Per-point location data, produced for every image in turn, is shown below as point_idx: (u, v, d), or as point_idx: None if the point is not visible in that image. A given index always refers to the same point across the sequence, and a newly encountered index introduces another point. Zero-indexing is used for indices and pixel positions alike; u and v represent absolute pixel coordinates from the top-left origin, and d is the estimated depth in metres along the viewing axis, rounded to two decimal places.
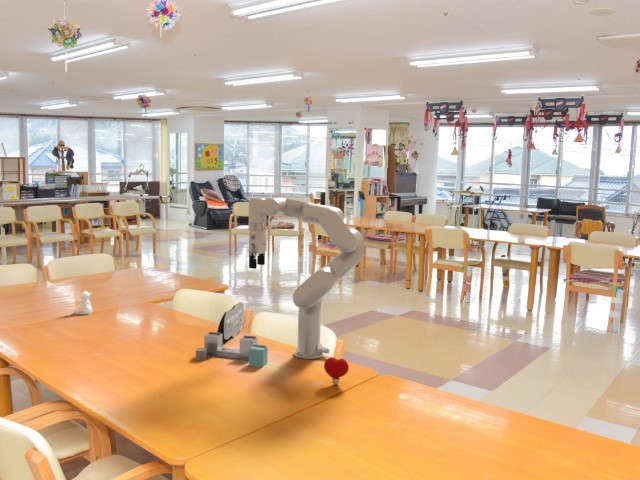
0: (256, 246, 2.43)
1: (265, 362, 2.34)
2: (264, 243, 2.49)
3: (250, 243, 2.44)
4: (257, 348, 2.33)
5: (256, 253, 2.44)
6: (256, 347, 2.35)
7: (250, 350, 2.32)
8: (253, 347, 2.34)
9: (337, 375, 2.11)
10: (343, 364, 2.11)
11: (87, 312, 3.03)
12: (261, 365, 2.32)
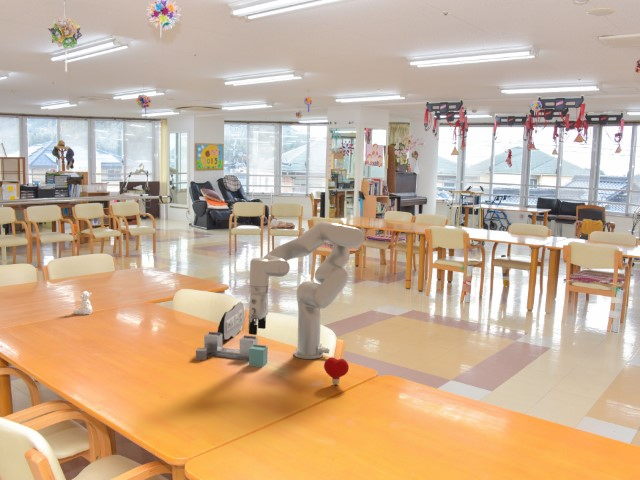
0: (257, 311, 2.27)
1: (265, 362, 2.34)
2: (265, 307, 2.32)
3: (251, 308, 2.27)
4: (257, 348, 2.33)
5: (257, 318, 2.28)
6: (256, 347, 2.35)
7: (250, 350, 2.32)
8: (253, 347, 2.34)
9: (337, 375, 2.11)
10: (343, 364, 2.11)
11: (87, 312, 3.03)
12: (261, 365, 2.32)
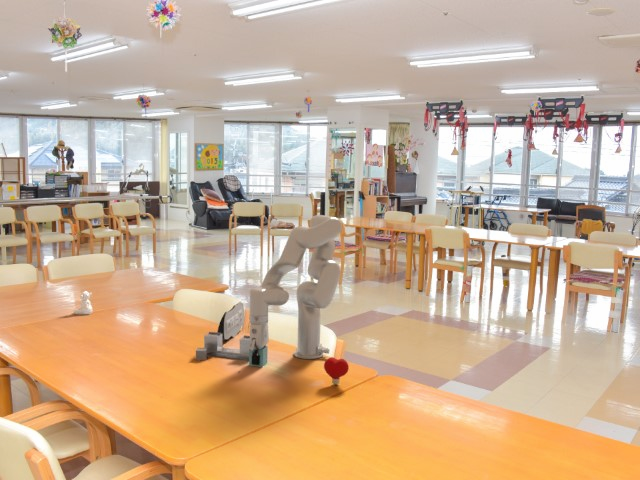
0: (257, 341, 2.28)
1: (265, 362, 2.34)
2: (266, 335, 2.34)
3: (251, 337, 2.29)
4: None
5: (258, 348, 2.31)
6: None
7: None
8: None
9: (337, 375, 2.11)
10: (343, 364, 2.11)
11: (87, 312, 3.03)
12: (261, 365, 2.32)
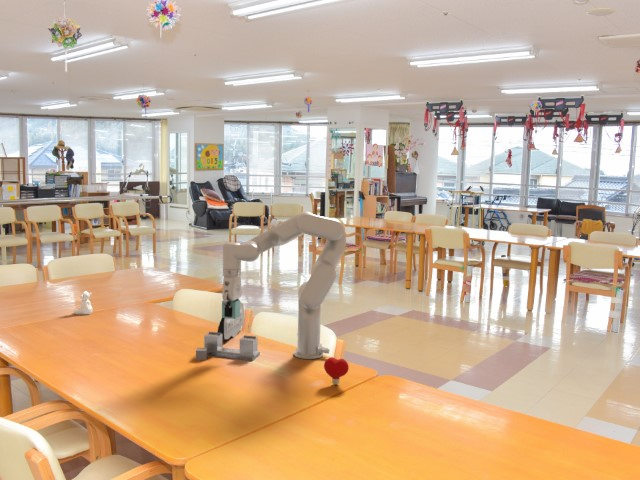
0: (230, 293, 2.37)
1: (237, 315, 2.43)
2: (238, 289, 2.42)
3: (224, 290, 2.37)
4: None
5: (231, 301, 2.39)
6: None
7: None
8: None
9: (337, 375, 2.11)
10: (343, 364, 2.11)
11: (87, 312, 3.03)
12: (233, 317, 2.40)
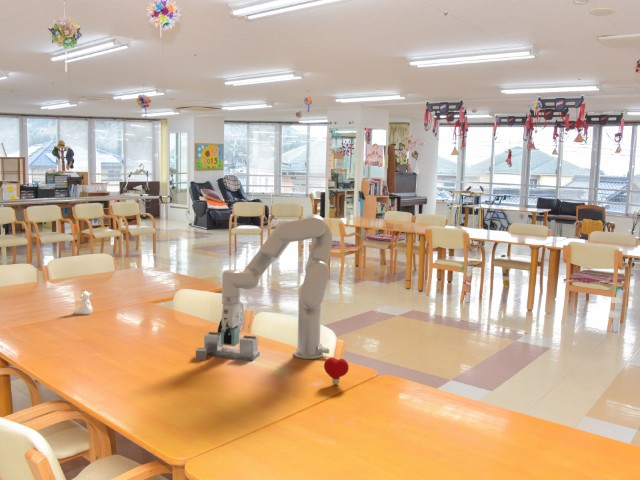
0: (229, 321, 2.38)
1: (236, 341, 2.44)
2: (238, 316, 2.44)
3: (223, 317, 2.39)
4: None
5: (230, 328, 2.41)
6: None
7: (222, 330, 2.42)
8: None
9: (337, 375, 2.11)
10: (343, 364, 2.11)
11: (87, 312, 3.04)
12: (232, 344, 2.42)
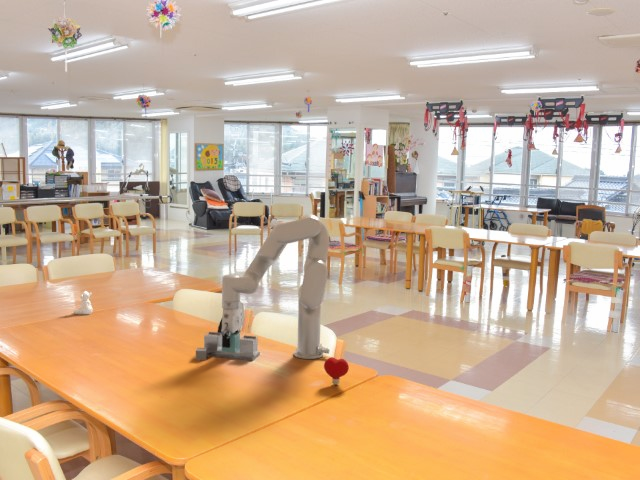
0: (229, 325, 2.38)
1: (237, 348, 2.45)
2: (238, 320, 2.44)
3: (223, 322, 2.39)
4: None
5: (229, 332, 2.40)
6: None
7: None
8: None
9: (337, 375, 2.11)
10: (343, 364, 2.11)
11: (87, 312, 3.04)
12: (233, 351, 2.42)
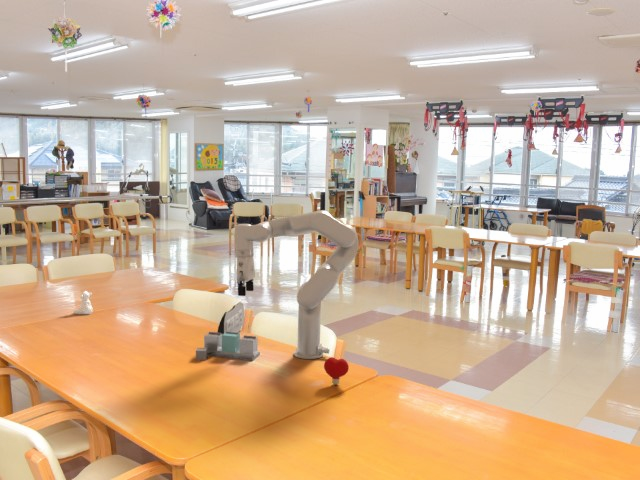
0: (244, 273, 2.40)
1: (237, 348, 2.45)
2: (252, 269, 2.46)
3: (238, 270, 2.41)
4: (229, 335, 2.43)
5: (245, 280, 2.41)
6: (229, 333, 2.45)
7: (223, 336, 2.43)
8: (226, 334, 2.44)
9: (337, 375, 2.11)
10: (343, 364, 2.11)
11: (87, 312, 3.04)
12: (233, 351, 2.42)
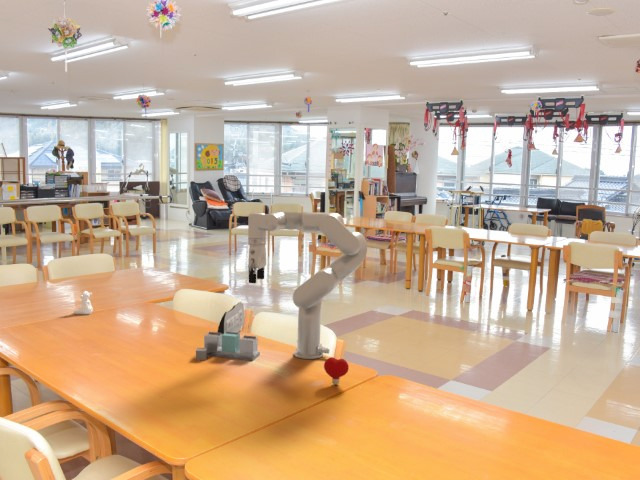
0: (256, 261, 2.44)
1: (237, 348, 2.45)
2: (264, 258, 2.50)
3: (250, 258, 2.45)
4: (229, 335, 2.43)
5: (256, 268, 2.45)
6: (229, 333, 2.45)
7: (223, 336, 2.43)
8: (226, 334, 2.44)
9: (337, 375, 2.11)
10: (343, 364, 2.11)
11: (87, 312, 3.04)
12: (233, 351, 2.42)
